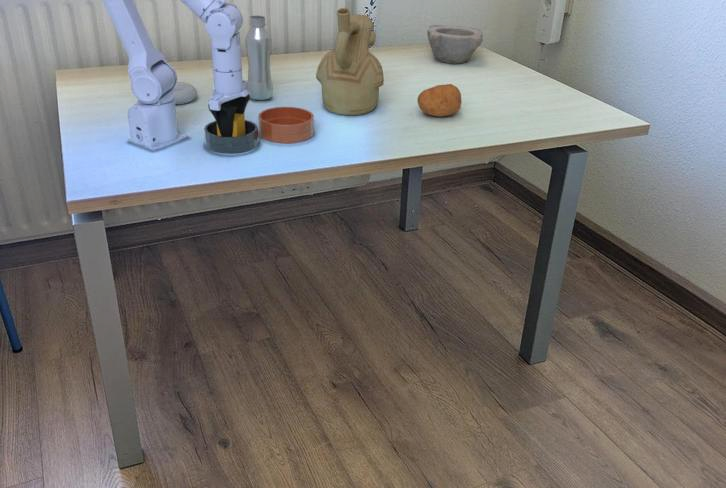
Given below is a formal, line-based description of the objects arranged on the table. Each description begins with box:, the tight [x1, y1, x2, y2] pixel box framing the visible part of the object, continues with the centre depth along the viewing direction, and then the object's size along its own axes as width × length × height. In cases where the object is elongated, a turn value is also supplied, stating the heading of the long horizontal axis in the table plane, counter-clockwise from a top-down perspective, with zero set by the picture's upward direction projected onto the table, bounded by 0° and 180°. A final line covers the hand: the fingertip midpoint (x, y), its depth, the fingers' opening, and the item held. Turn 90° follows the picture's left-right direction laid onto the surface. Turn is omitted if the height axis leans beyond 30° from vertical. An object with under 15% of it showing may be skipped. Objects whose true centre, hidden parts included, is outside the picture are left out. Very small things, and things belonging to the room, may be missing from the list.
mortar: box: [426, 24, 484, 65], centre depth 206 cm, size 17×17×9 cm
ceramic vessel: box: [315, 7, 385, 116], centre depth 160 cm, size 17×20×25 cm
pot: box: [203, 119, 259, 155], centre depth 141 cm, size 11×11×4 cm
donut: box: [173, 81, 198, 105], centre depth 165 cm, size 10×4×10 cm
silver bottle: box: [244, 15, 274, 101], centre depth 164 cm, size 6×7×20 cm
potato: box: [416, 83, 462, 118], centre depth 162 cm, size 9×11×8 cm
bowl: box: [257, 106, 315, 144], centre depth 147 cm, size 12×12×4 cm
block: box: [217, 113, 246, 137], centre depth 140 cm, size 4×4×6 cm
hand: (231, 132), depth 141 cm, fingers closed on block, 4 cm apart
